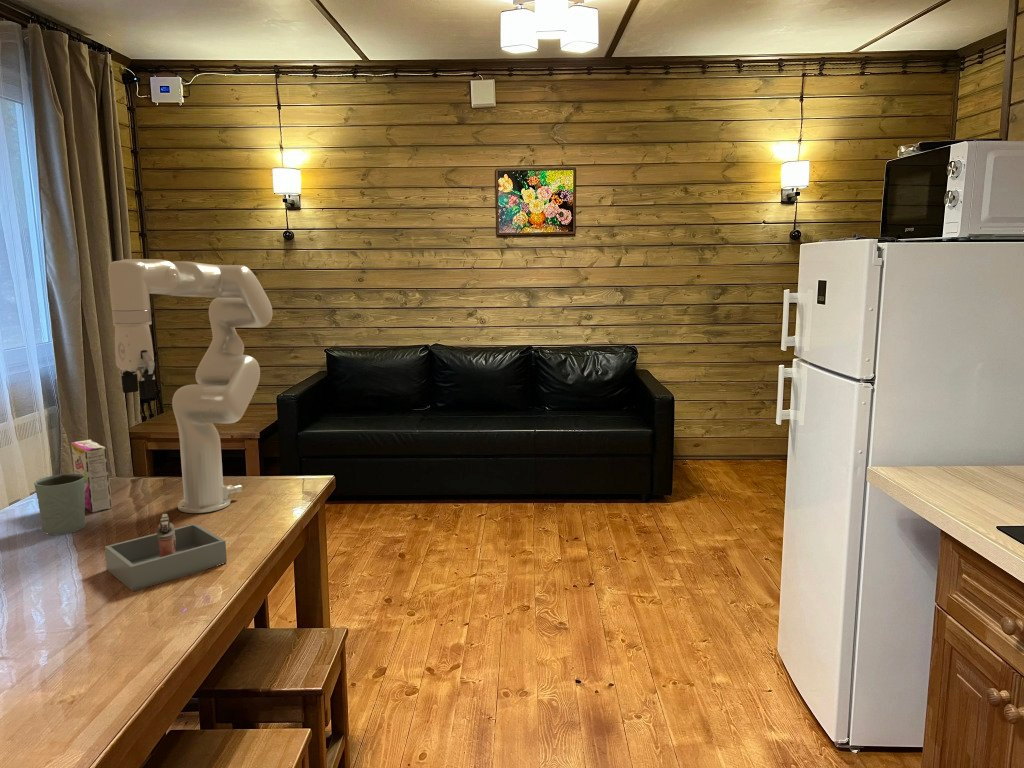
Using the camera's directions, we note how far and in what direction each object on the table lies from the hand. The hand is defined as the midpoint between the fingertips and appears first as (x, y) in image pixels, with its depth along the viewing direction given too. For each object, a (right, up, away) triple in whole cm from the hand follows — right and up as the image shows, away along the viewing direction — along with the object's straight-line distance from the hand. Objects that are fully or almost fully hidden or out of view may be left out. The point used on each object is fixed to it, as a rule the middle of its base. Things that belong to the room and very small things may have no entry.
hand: (139, 395), depth 165 cm
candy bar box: (-25, -29, +26) cm, 46 cm away
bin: (+11, -35, -11) cm, 39 cm away
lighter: (+12, -35, -11) cm, 39 cm away
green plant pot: (-23, -32, +11) cm, 41 cm away
